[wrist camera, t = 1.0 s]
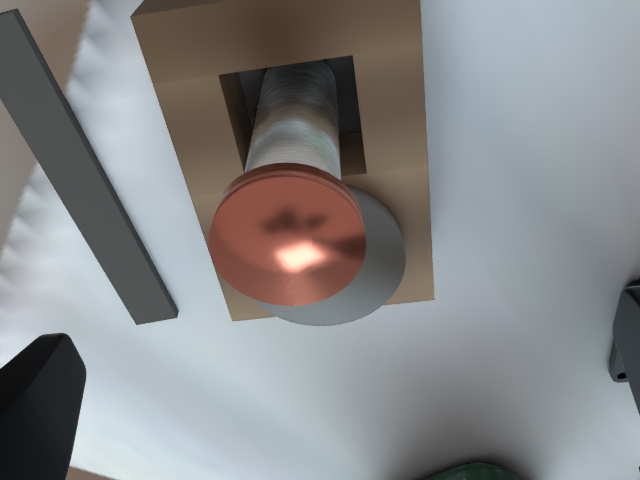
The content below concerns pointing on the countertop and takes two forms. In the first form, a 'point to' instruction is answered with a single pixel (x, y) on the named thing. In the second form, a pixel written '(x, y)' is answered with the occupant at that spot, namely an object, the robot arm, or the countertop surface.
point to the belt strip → (77, 172)
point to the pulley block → (355, 148)
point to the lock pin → (291, 197)
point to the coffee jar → (476, 473)
